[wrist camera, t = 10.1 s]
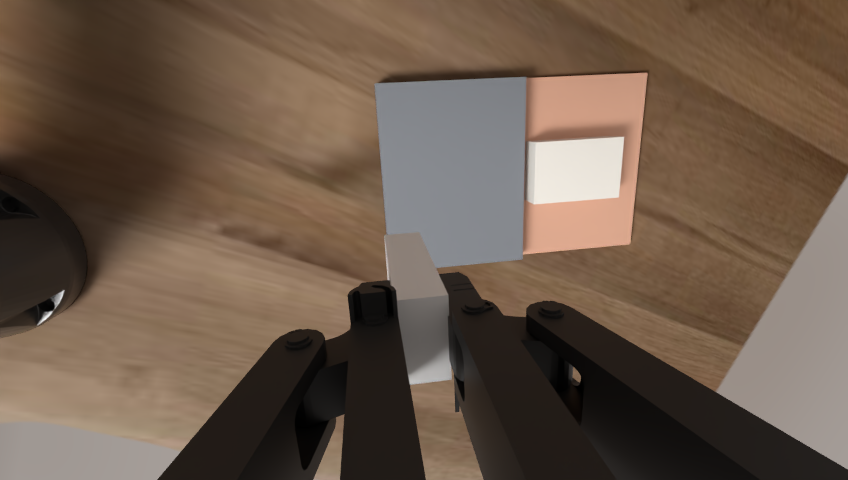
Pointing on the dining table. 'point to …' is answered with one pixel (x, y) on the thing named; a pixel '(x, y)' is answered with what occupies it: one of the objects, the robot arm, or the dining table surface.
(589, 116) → the mat
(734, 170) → the dining table surface
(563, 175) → the tile
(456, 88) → the grey slab
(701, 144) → the dining table surface
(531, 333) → the robot arm
